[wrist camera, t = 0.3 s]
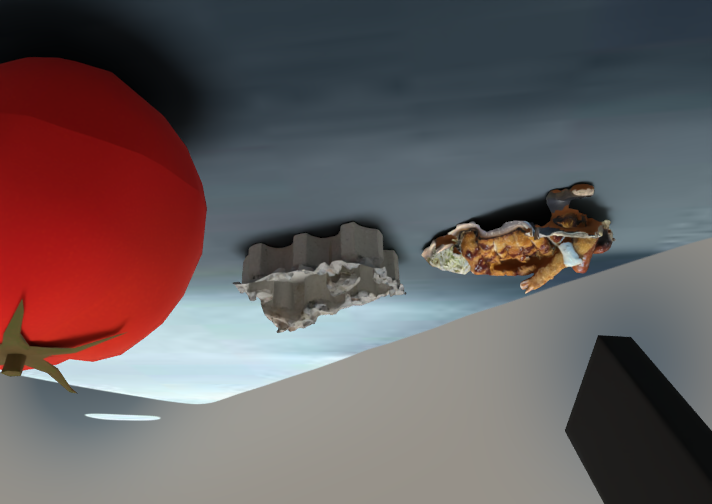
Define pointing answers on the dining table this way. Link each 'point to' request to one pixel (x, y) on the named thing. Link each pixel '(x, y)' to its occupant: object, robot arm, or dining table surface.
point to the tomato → (88, 216)
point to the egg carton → (319, 275)
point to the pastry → (526, 244)
